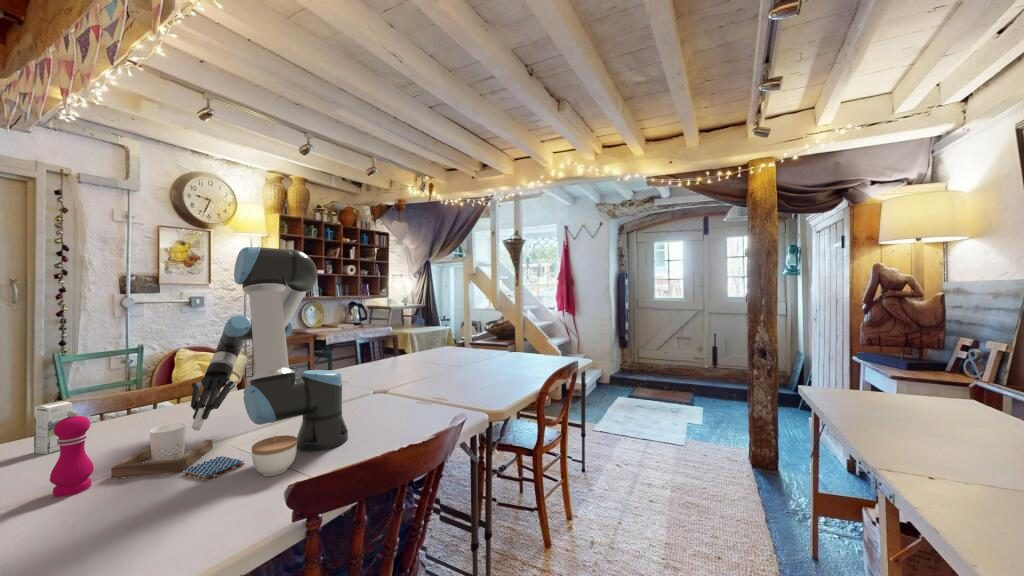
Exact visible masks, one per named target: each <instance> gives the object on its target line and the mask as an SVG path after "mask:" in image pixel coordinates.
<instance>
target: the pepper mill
mask: <svg viewBox="0 0 1024 576" xmlns="http://www.w3.org/2000/svg"><path fill="white" fill-rule="evenodd" d="M78 413H79V412H78V411H77V410H74V409H72V411H69V412H68V413H67V416H68V417H67V418H65V419H62V420H60V421H59V422H58V423H57V424H56V425H55V427H54V434H55V435H56V436H57V437H59V439H57V445H58V446H60V451H59V457H58V459H57V461H56V463H55V464H54V467H52V470H51V473H50V475H49V482H50V483H51V484H53V485H54V487H53V488H52V497H54V498H64V497H70V496H74V495H77V494H80V493H83V492H85V491H87V490H88V489H90V488H91V486H92V478H90V476H91V475H92V474H93V473H94V471H95V468H94V467H95V465H94V462H93V461H92V460H91V458H90V457H89V455H88V454H87V453H86V450H85V448H86V447H85V444H86V443H85V442H86V440H88V433H86V432H88V430H89V429H90V427H91V421H90V419H89V418H88V417H87V416H83V415H78ZM89 487H90V488H89ZM86 489H87V490H86ZM84 490H85V491H84ZM82 491H83V492H82ZM73 494H74V495H73ZM69 495H70V496H69Z"/></svg>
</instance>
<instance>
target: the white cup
mask: <svg viewBox="0 0 1024 576" xmlns="http://www.w3.org/2000/svg"><path fill="white" fill-rule="evenodd" d="M186 430H187V423H185V422H172V423H167V424H162V425H158V426H155V427H153V428H151V429H150V430H149V439H150V440H149V442H150V445H149V446H151V455H152V458H151V462H155V461H166V460H177V459H181V458H182V457H183V456H185V450H186V449H185V447H186V436H187V434H186V433H187V431H186Z"/></svg>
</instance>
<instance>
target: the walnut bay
mask: <svg viewBox="0 0 1024 576" xmlns="http://www.w3.org/2000/svg"><path fill="white" fill-rule="evenodd" d="M213 441H214V440H213V439H211V438H210V439H205V440H204V441H203V442H202V443H200V444H199V445H197V446H196V447H195V448H194V449H192V450H191V451H188V452H187V453H186V454H184V456H183V457H182V458H181V459H177V460H166V461H155V462H152V461H148V459H149V458H150V459H152V458H151V457H152V455H151V446H150V445H148V446H147V447H145V448H143V449H141V450H139V451H138V452H136V453H135V454H133V455H131V456H129V457H128V458H126V459H124V460H122V461H120V462H119V463H117V464H116V465H114V466H112V467H111V472H110V473H111V474H110V475H111V479H112V478H117V479H123V478H122V477H127V478H132V477H131V476H137V477H144V476H143V475H147V476H155V475H156V474H157V475H164V474H165V473H167V474H173V473H174V474H175V473H184V472H185V471H184V469H187V470H188V469H189V468H191V467H192V465H194V464H195V463H196V462H198V461H199V460H200V459H202V458H203V457H205V455H207V454H208V453H209V452H211V451H212V450H213V449H212V448H213V447H214V445H213ZM211 449H212V450H211ZM210 450H211V451H210ZM207 452H208V453H207ZM206 453H207V454H206ZM202 456H203V457H202ZM150 459H149V460H150ZM146 460H147V461H146ZM197 460H198V461H197ZM143 462H144V463H143ZM193 463H194V464H193ZM129 476H130V477H129ZM112 480H113V479H112Z"/></svg>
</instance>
